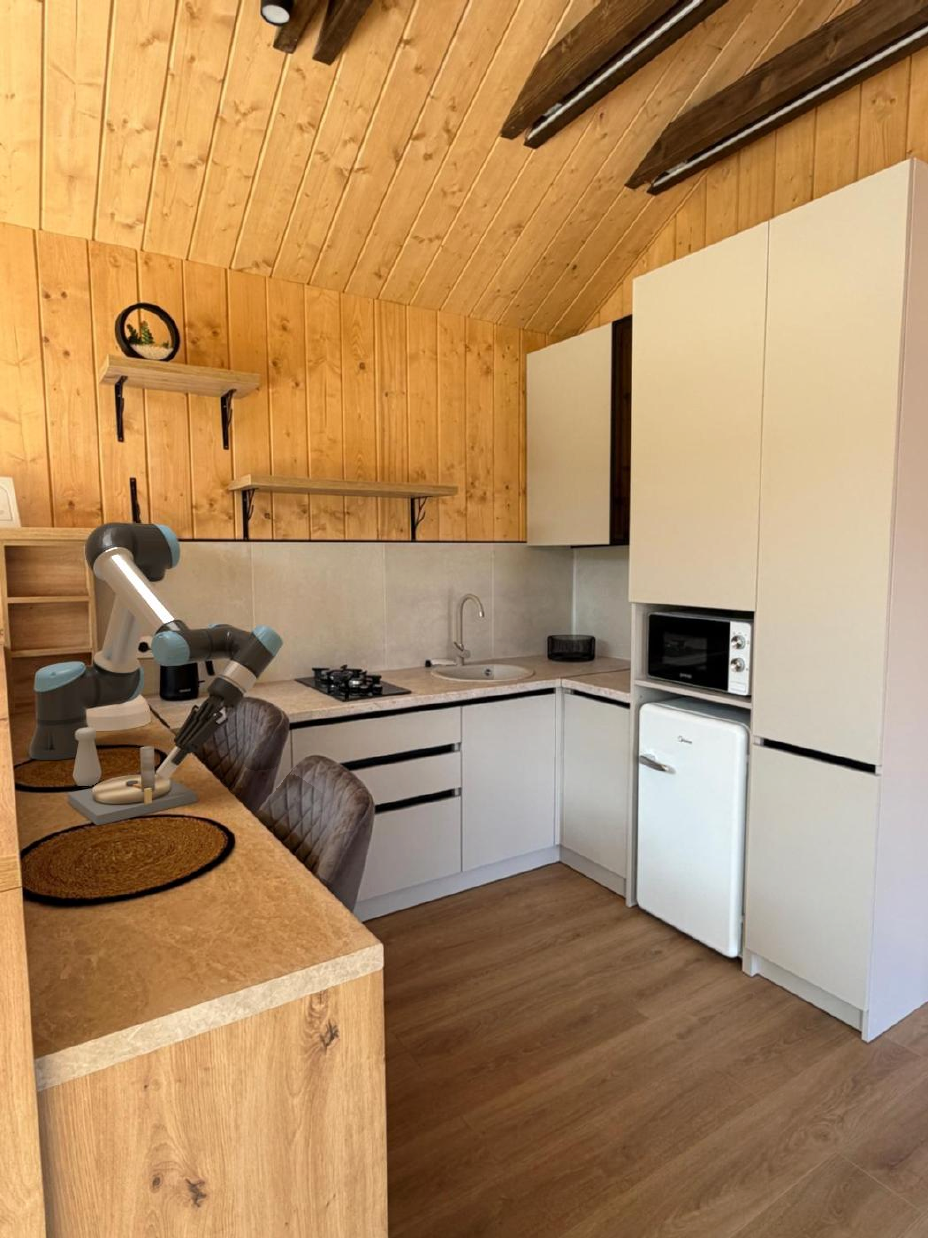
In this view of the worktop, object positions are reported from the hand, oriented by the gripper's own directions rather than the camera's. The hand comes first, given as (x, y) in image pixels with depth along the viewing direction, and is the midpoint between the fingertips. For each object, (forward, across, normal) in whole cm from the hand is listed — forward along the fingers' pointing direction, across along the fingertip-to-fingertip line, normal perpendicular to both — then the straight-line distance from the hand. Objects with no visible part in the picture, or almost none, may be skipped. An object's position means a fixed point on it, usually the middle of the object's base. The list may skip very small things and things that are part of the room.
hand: (161, 776), depth 151 cm
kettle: (-11, +82, -18) cm, 85 cm away
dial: (+5, +7, 0) cm, 9 cm away
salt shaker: (+9, +26, 0) cm, 27 cm away
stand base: (+7, +7, -2) cm, 10 cm away
